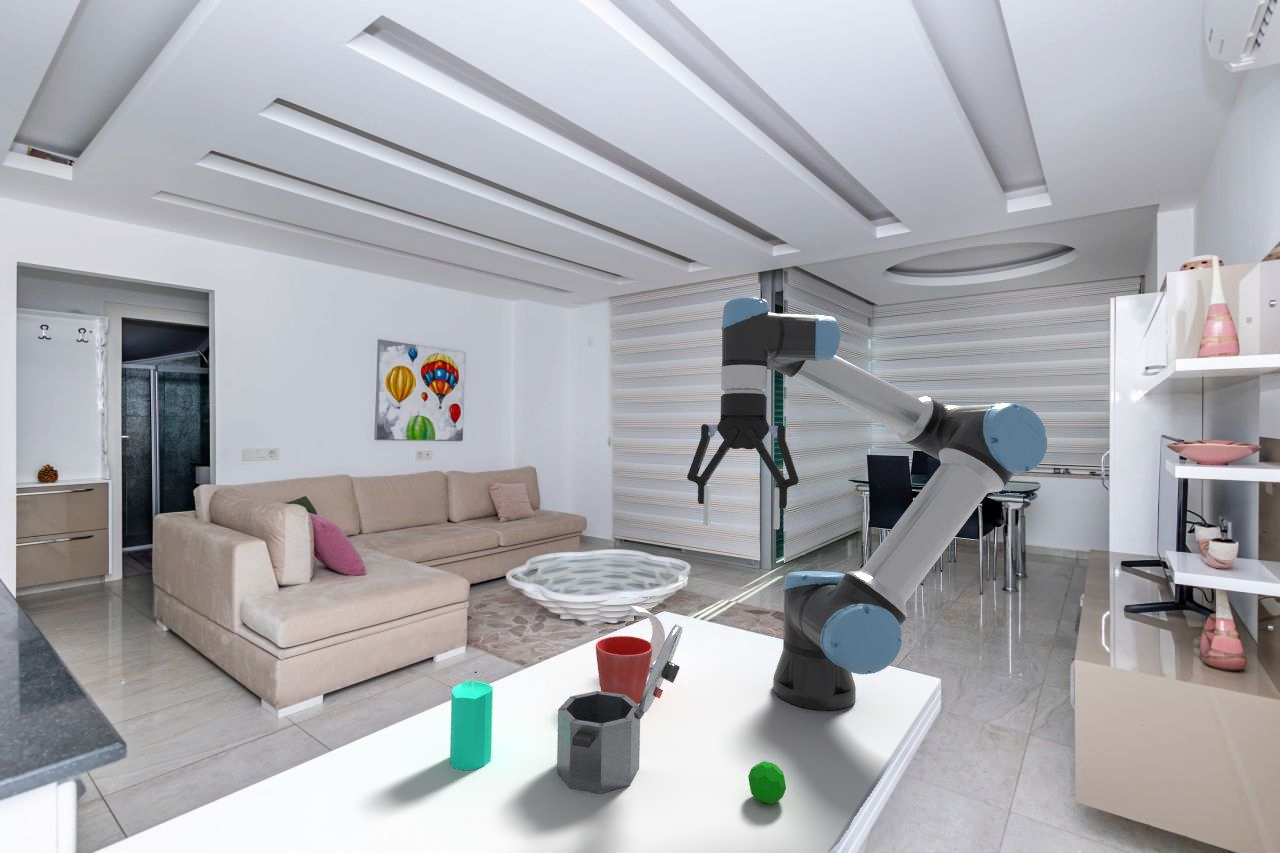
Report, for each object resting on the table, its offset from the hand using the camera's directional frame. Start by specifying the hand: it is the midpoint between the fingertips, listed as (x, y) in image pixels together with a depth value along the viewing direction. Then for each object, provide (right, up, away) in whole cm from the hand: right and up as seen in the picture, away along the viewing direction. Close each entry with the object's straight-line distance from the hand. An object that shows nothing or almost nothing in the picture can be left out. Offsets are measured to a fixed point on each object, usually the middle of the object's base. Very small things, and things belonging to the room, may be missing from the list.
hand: (741, 526), depth 103 cm
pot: (-23, -33, -13) cm, 42 cm away
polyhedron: (0, -34, -19) cm, 39 cm away
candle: (-42, -33, -11) cm, 55 cm away
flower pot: (-20, -34, +12) cm, 41 cm away
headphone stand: (-15, -34, +29) cm, 47 cm away
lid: (-15, -18, -15) cm, 27 cm away
